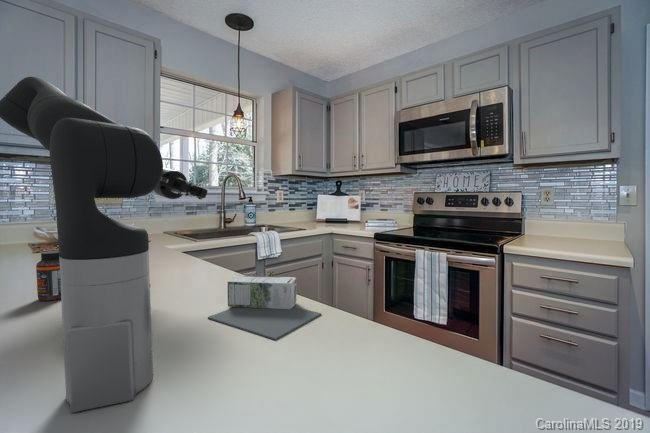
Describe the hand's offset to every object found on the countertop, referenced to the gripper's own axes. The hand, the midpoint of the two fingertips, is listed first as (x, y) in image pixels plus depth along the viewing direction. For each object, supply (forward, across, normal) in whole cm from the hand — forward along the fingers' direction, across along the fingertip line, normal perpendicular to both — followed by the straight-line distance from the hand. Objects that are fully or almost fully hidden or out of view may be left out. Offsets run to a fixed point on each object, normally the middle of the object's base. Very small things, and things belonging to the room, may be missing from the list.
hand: (203, 193), depth 75 cm
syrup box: (+12, +7, +19) cm, 24 cm away
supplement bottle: (-26, -10, +35) cm, 45 cm away
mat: (+24, +6, +20) cm, 32 cm away
